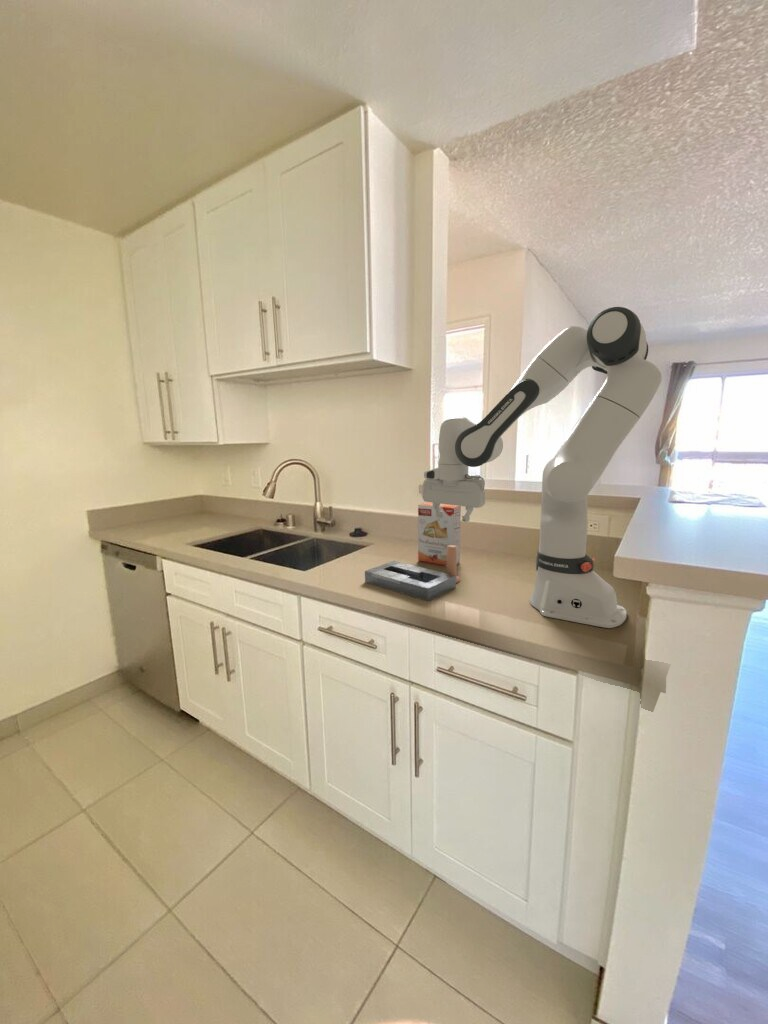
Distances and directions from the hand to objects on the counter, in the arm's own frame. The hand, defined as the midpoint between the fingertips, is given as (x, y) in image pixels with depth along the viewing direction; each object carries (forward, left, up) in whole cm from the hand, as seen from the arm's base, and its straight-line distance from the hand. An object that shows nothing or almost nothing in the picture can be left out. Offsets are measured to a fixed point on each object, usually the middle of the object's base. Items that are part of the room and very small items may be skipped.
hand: (452, 519), depth 125 cm
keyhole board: (+8, +11, -20) cm, 24 cm away
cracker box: (+14, -14, -20) cm, 28 cm away
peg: (0, 0, -20) cm, 20 cm away
